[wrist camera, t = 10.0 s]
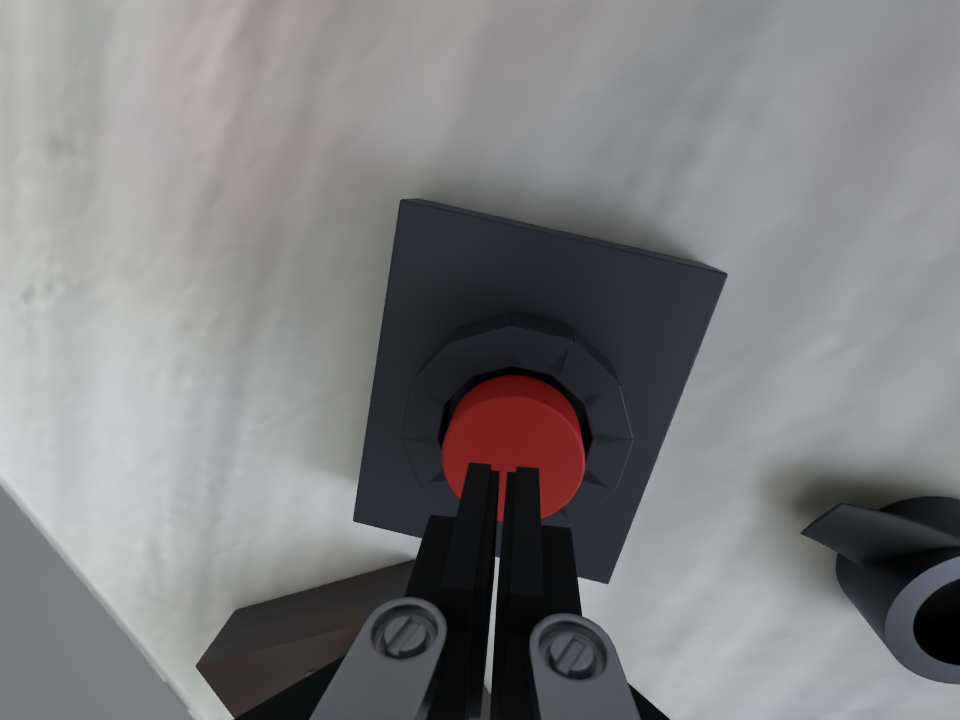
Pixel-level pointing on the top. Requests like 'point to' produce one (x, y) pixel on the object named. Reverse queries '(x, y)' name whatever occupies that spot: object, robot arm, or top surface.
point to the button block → (528, 361)
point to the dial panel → (297, 637)
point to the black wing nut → (902, 577)
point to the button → (517, 438)
